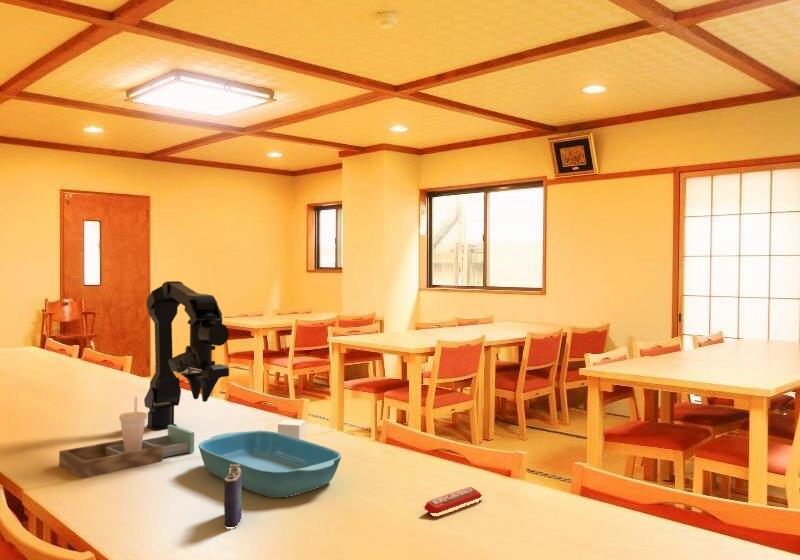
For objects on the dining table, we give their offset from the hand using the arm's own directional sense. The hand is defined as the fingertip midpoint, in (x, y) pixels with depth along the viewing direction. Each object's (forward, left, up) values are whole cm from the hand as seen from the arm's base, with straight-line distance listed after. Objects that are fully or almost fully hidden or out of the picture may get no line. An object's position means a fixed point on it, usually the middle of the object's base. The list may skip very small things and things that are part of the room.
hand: (200, 400), depth 179 cm
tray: (+14, 0, -12) cm, 18 cm away
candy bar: (-12, +77, -13) cm, 79 cm away
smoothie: (+18, 0, -11) cm, 21 cm away
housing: (+24, 0, -12) cm, 27 cm away
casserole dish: (+3, +35, -12) cm, 37 cm away
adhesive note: (-18, +16, -12) cm, 27 cm away
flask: (+24, +51, -12) cm, 58 cm away
